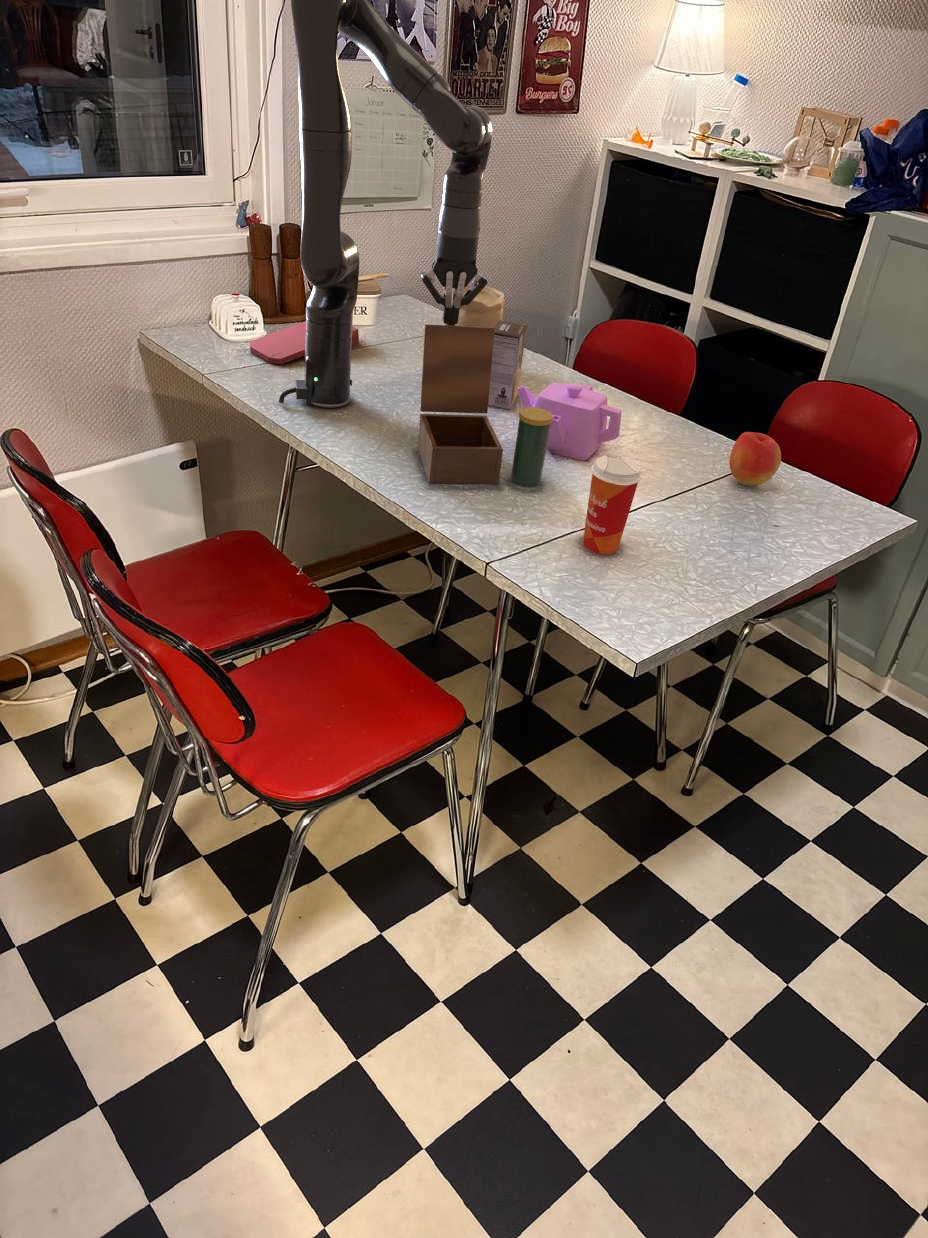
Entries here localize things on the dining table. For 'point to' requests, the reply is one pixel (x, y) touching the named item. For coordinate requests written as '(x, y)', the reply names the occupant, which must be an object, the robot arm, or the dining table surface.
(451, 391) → the chest lid
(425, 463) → the chest
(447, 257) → the robot arm
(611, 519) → the coffee cup
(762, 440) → the apple
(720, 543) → the dining table surface
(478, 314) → the container
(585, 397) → the teakettle
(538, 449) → the tea tin
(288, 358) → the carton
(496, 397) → the coffee box
